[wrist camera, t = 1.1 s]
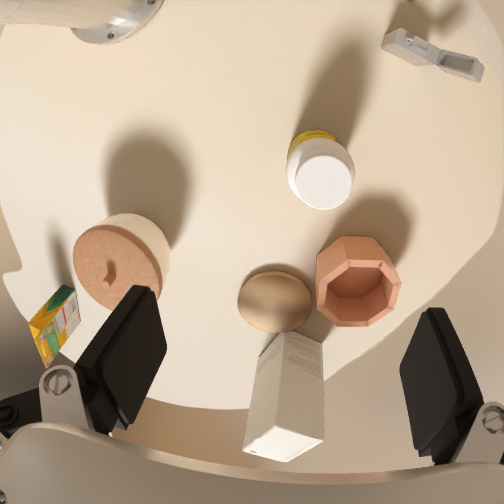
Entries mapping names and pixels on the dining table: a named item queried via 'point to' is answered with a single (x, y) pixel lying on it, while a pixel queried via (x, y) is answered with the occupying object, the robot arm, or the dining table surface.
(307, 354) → the skincare box
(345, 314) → the terracotta octagonal planter pot
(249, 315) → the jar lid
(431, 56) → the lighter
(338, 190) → the supplement bottle
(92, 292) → the lidded jar
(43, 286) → the dining table surface
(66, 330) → the crayon box
